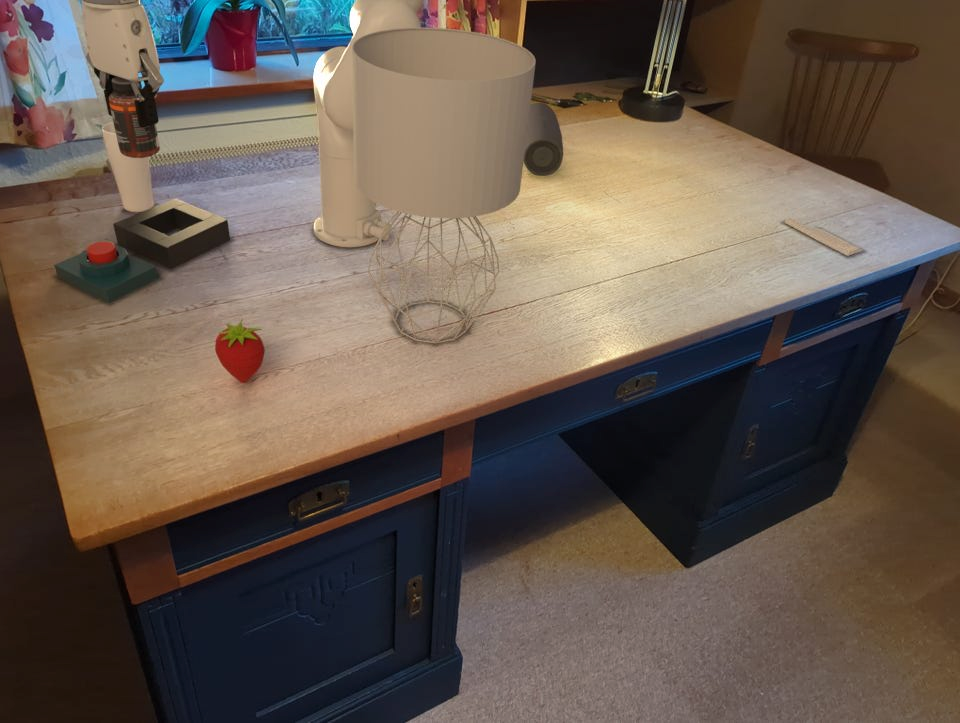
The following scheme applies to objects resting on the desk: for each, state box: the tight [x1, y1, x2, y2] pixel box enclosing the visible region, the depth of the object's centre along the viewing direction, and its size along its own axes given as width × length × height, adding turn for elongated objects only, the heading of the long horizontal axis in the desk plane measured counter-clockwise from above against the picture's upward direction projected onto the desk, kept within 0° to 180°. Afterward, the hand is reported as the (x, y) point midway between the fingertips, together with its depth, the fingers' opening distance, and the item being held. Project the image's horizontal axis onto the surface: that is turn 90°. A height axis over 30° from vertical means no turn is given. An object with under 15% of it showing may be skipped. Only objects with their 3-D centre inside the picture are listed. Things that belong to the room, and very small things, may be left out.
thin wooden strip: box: [784, 217, 864, 257], centre depth 151 cm, size 5×15×1 cm, turn 33°
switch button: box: [86, 241, 117, 263], centre depth 117 cm, size 4×4×2 cm
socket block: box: [112, 197, 231, 270], centre depth 129 cm, size 13×13×4 cm
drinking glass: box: [101, 120, 155, 213], centre depth 134 cm, size 7×7×15 cm
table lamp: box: [352, 27, 536, 344], centre depth 105 cm, size 22×22×40 cm
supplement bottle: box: [109, 77, 161, 158], centre depth 116 cm, size 6×6×11 cm
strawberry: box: [214, 317, 265, 384], centre depth 99 cm, size 6×8×10 cm
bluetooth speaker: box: [523, 102, 564, 177], centre depth 168 cm, size 23×9×10 cm, turn 179°
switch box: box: [53, 244, 159, 304], centre depth 118 cm, size 12×9×4 cm
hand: (133, 118), depth 116 cm, fingers closed on supplement bottle, 6 cm apart
